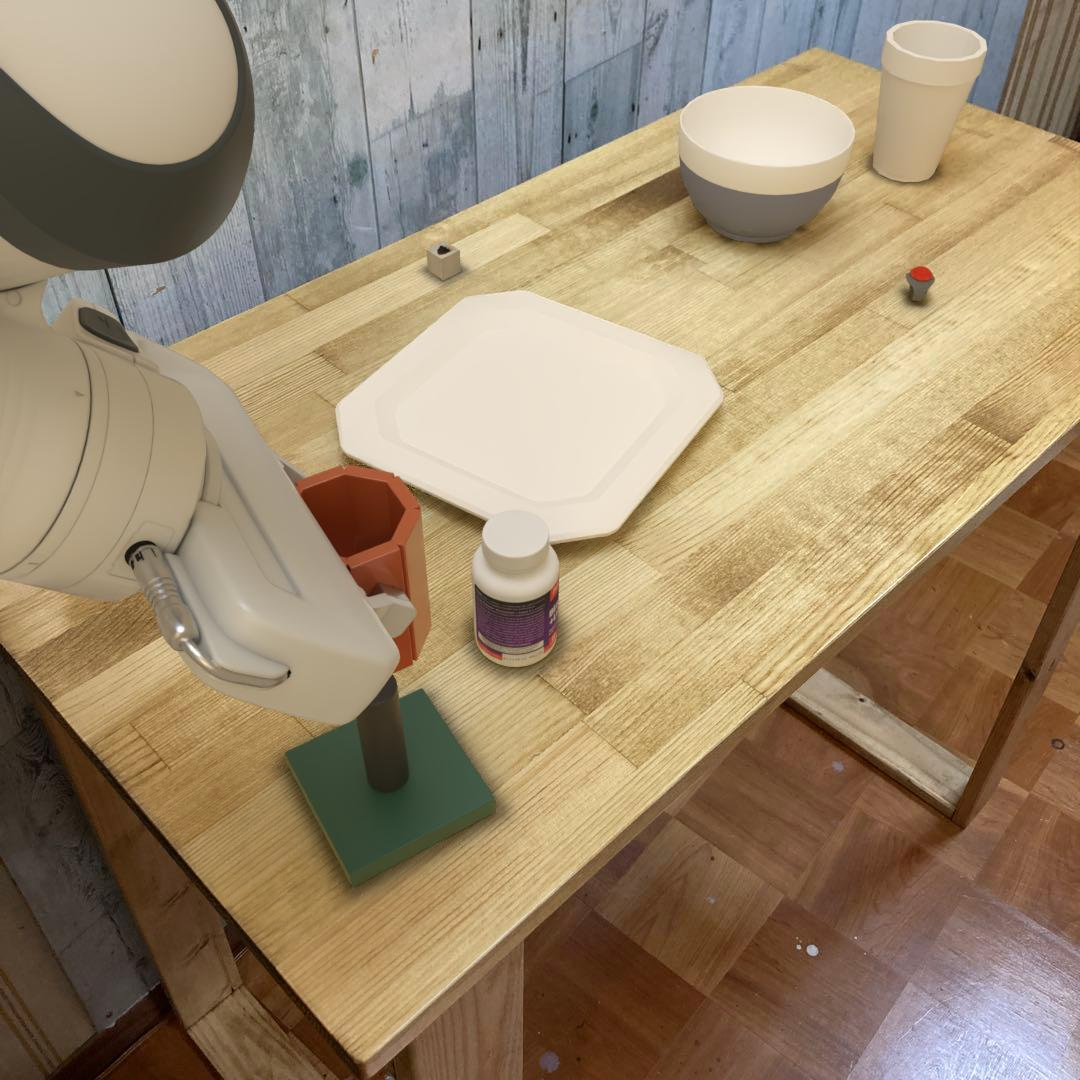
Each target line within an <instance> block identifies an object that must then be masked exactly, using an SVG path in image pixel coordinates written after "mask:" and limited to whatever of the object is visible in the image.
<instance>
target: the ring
mask: <svg viewBox="0 0 1080 1080" xmlns="http://www.w3.org/2000/svg"><path fill="white" fill-rule="evenodd" d="M905 279H906V281H907V284H909V293H910V299H911V301H913V302H920V301H922V300H924V298H925V297H926V295H927V293H928V291H929V289H930V288H931V287H932V286H933V285H934V283H935V281H936V277H935V276H934V273H933V272H932V271H931V270H930V269H929V268H928V267H927V266H923V265H919V266H916V267H913V268H911V269H910V271H909V272H907V273H906V274H905Z"/></svg>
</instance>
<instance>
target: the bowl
mask: <svg viewBox="0 0 1080 1080" xmlns="http://www.w3.org/2000/svg"><path fill="white" fill-rule="evenodd" d="M677 138H678V142H677V147H678V148H677V150H678V151H677V153H678V158H679V170H680V178H681V179H682V182H683V184H684V187H685V189H686V191H687V194H688V196H689V199H690V200H691V203H692V205H693V206H694V208H696V210H697V211H698V212H699V213H700V214H701V215H702V216H703V217H704V219H705V222H706V223H707V224H708V226H709V227H710V228H711V229H712V230H714V231H715V232H716V233H718V234H719V235H721V236H722V237H725V238H728V239H731V240H734V241H738V242H742V243H749V244H751V243H752V244H766V243H767V244H768V243H774V242H779V241H782V240H784V239H787V238H788V237H790V236H792V235H793V234H794V233H795V232H796V231H797V229H798V228H800V227H802V226H804V225H806V224H808V223H810V222H811V221H812V220H813V219H814V218H815V217H816V216H817V215H819V213H820V212H821V210H823V208H824V207H825V206H826V205H827V204H828V203H829V202H830V201H831V199H832V197H833V196H834V194H835V193H836V192H837V189H838V187H839V184H840V182H841V181H842V178H843V176H844V174H845V171H846V169H847V167H848V165H849V160H850V157H851V154H852V150H853V146H854V143H855V138H856V130H855V126H854V123H853V122H852V120H851V119H850V117H849V116H848V115H847V113H845V112H844V111H843V110H842V109H841V108H839V107H838V106H836V105H834V104H833V103H831V102H830V101H827V100H825V99H823V98H821V97H818V96H817V95H813V94H810V93H807V92H804V91H801V90H795V89H790V88H786V87H779V86H771V85H737V86H730V87H723V88H718V89H715V90H711V91H707V92H706V93H703V94H701V95H698V96H696V97H695V98H693V99H692V100H690V101H689V102H688V103H687V104H686V105H685V106H684V107H683V108H682V110H681V113H680V115H679V118H678V137H677Z"/></svg>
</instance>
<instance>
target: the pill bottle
mask: <svg viewBox="0 0 1080 1080" xmlns="http://www.w3.org/2000/svg"><path fill="white" fill-rule="evenodd" d="M470 567H471V568H470V569H471V575H470V576H471V592H472V594H471V595H472V612H473V631H474V639H475V643H476V646H477V648H478V649H479V651H480V652H481V654H483V656H485V657H486V658H487V659H488V660H489V661H491V662H492V663H495V664H497V665H500V666H503V667H507V668H508V667H509V668H520V667H527V666H531V665H534V664H535V663H538V662H540V661H541V660H543V659H544V658H546V657H547V656H548V655H549V654H550V653H551V652H552V651H553V649H554V647H555V645H556V642H557V638H558V626H559V598H560V573H561V571H560V570H561V568H560V561H559V557H558V555H557V553H556V551H555V549H554V548H553V546H552V545H550V544H549V530H548V527H547V525H546V523H545V522H544V521H543V520H542V519H541V518H540V517H538V516H537V515H535V514H533V513H530V512H528V511H522V510H509V511H504V512H501V513H498V514H496V515H494V516H493V517H491V518H490V519H489V520H488V521H485V523H484V525H483V528H482V532H481V543H480V545H479V546H478V547H477V548H476V551H475V552H474V554H473V556H472V560H471V566H470Z"/></svg>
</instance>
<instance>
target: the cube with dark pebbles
mask: <svg viewBox="0 0 1080 1080" xmlns="http://www.w3.org/2000/svg"><path fill="white" fill-rule="evenodd" d="M426 262H427V263H426V264H427V271H428V272H429V273H431V275H433V276H435V277H437V278H438V279H440V280H441V281H445V280H447V279H449V278H451V277H453V276H455V275H457V274H459V273H462V270H461V269H462V268H461V250H460V249H458V248H457V247H455V246H453V245H452V244H451V243H449V242H447V241H446V240H443V241H441V242H439V243H437V244H435V245H433V246H431V247H429V248H426Z"/></svg>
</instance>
